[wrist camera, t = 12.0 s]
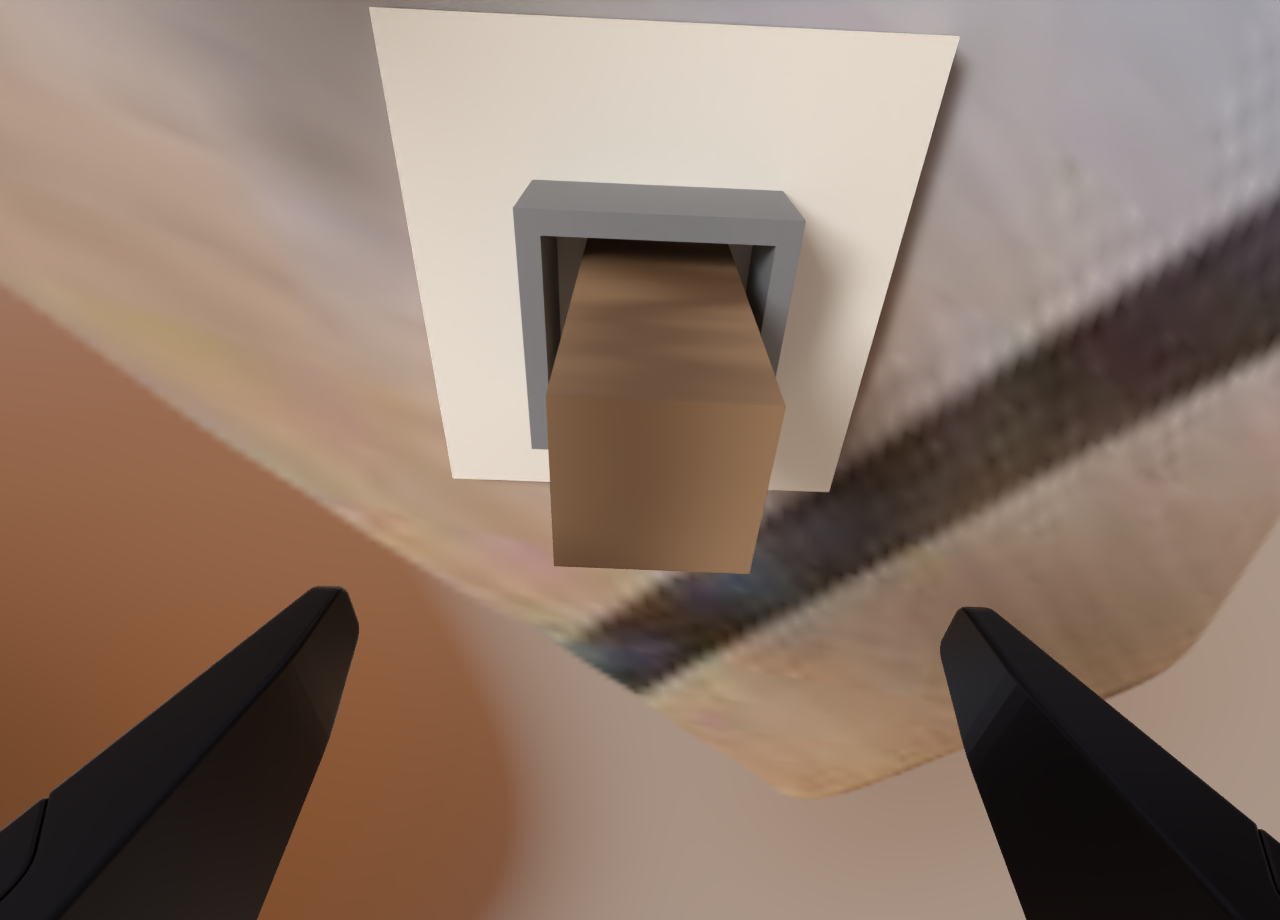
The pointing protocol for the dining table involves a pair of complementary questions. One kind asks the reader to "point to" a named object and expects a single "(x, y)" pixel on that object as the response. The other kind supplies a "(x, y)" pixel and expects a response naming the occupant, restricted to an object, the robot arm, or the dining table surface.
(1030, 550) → the dining table surface
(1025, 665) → the robot arm
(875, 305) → the thin cream square plate
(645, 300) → the wooden peg
